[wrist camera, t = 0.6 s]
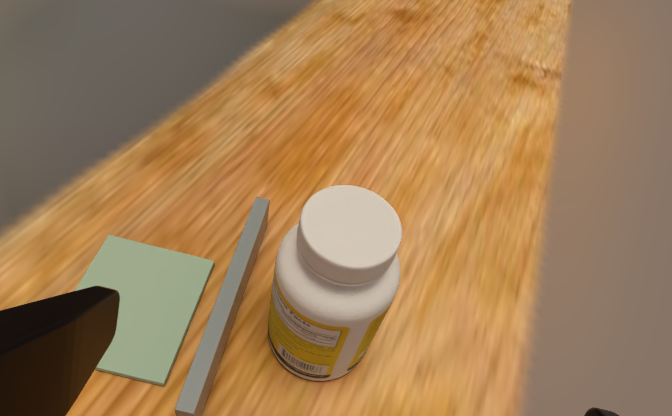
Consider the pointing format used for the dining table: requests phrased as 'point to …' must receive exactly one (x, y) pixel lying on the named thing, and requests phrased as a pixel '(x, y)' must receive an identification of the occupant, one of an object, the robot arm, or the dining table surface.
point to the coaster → (147, 305)
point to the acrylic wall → (223, 314)
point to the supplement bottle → (334, 282)
